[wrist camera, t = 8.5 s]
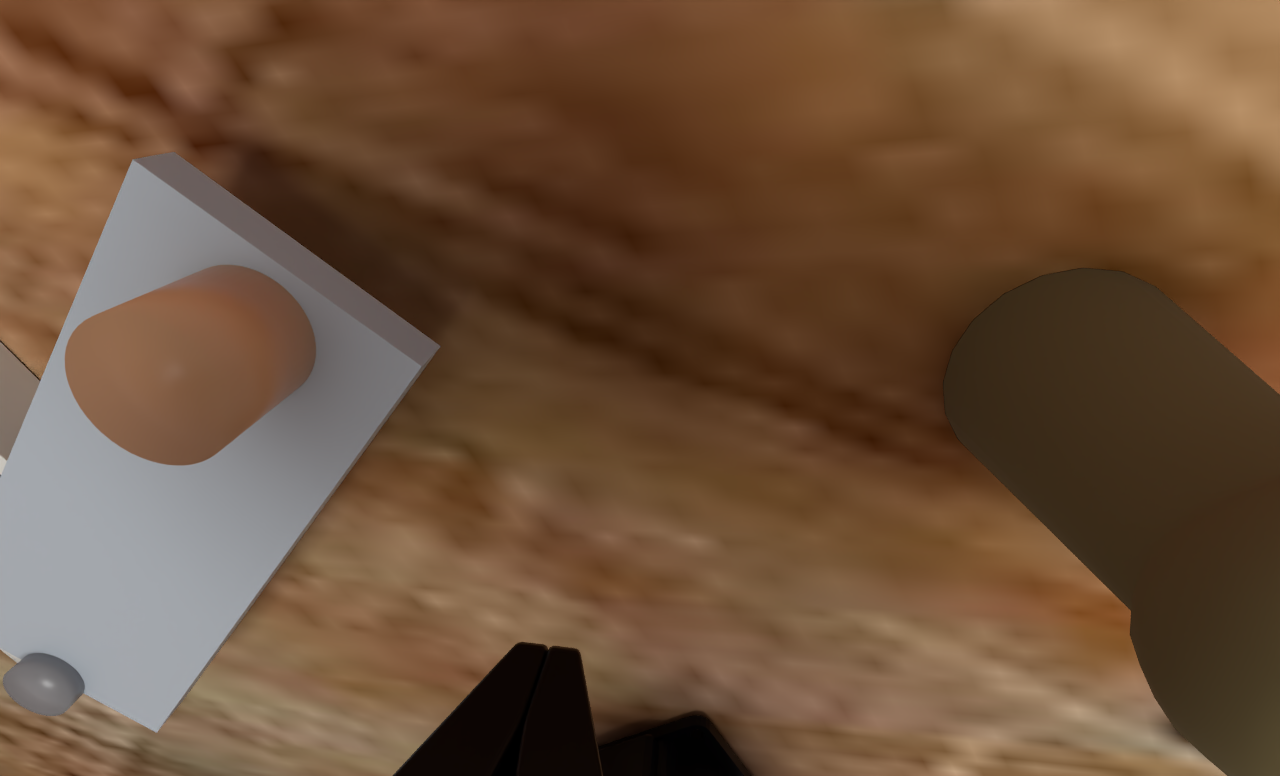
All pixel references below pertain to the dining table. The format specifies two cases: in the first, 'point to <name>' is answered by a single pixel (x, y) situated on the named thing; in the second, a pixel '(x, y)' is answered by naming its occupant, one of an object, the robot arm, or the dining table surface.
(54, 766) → the dining table surface
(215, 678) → the dining table surface
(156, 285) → the cover
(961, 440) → the olive brown bulbous cylinder
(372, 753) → the dining table surface
